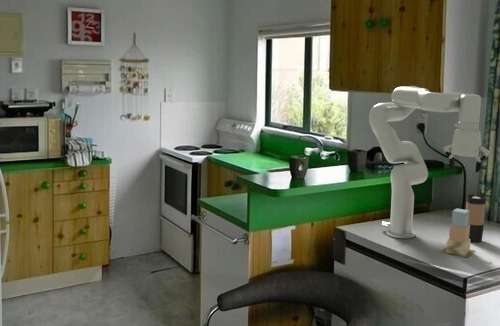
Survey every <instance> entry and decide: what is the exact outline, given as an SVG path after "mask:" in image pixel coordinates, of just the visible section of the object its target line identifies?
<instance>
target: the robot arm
mask: <svg viewBox="0 0 500 326" xmlns="http://www.w3.org/2000/svg"><path fill="white" fill-rule="evenodd" d="M481 103H482V97H481V95H479V94H474V93H463V92H457V91H455V92H433V91H432V92H431V91H430V90H429V89H428V88H424V87H419V86H416V85H409V86H408V85H407V86H398V87H396V88H395V89H393V91H392V93H391V102H379V103H377V104H375V105H373V107H371V109H370V111H369V114H368V121H369V122H368V123H369V127H370V129H371V130H372V132H373V134H374V135H375V137H376V139H377V141H378V144H379V146H380V149H381V151H382V153H383V155H384V157H385V160H386V161H387V162H388V163H389V164H397V165H396V166H394V167H393V168H392V169H391V172H390V183H391V202H390V204H391V205H390V219H389V222H386V221H381V227H382V228H386V231H385V234H386V235H387V236H389V237H392V238H396V239H413V238H414V237H415V236H416V232H415V231H414V230H413V219H414V205H415V201H414V200H415V194H414V190H413V188H412V186H413V185H419V184H423V183H425V181H427V179H428V176H429V171H428V168H427V165H426V163H425V160H424V158H423V156H422V154H421V152H420V149H419V148H418V147H417V145H416V144H415V143H414V142H413V141H411V140H410V141H409V140H402V141H401V140H400V138H399V136H398V134H397V131H396V130H395V129H394V128H393V127H392V125H390V124H389V122H400V121H403V120H405V119H406V118H407V117H408V116H409V115H410V114H412V113H413V112H414V111H415V110H416V109H419V110H423V111H428V112H433V113H434V112H435V113H455V112H456V113H457V112H458V121H457V122H454V125H453V126H455V127H456V128H457V129H455V130H454V132H453V133H454V134H453V138H452V143H451V144H447V145H446V146H443V150H444V152H445V155H446V156H447V158H448V159H449V164H448V165H449V169H450V170H453V169H455V167H456V166H455V164H456V163H455V162H456V158H455V157H456V156H460V157H468V158H475V159H476V162H475V173H479V172H480V171H481V170H482V162H483V161H485V160H486V159H487V158H488V157H489V155H490V153H491V150H489V149H487V148H485V147H484V146H482V136H481V135H482V134H481V130H479V128H480V127H479V126H480V115H481V108H482V107H481ZM449 149H450V150H451V152H450V150H449ZM481 152H483V153H484V154H483V156H481Z"/></svg>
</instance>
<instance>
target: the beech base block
mask: <svg viewBox="0 0 500 326" xmlns="http://www.w3.org/2000/svg"><path fill="white" fill-rule="evenodd" d="M446 247H447V250H446V252H448V253H453V254H458V255H462V256H465V255H466V254H467V253H468V252H469V251H470V250H471V249H470V248H471V242H470V239H469V240H467V241H466V242H465V243H461V242H456V241H451V240H449V238H448V239H447V240H446Z"/></svg>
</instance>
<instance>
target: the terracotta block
mask: <svg viewBox="0 0 500 326" xmlns="http://www.w3.org/2000/svg"><path fill="white" fill-rule="evenodd" d="M451 225H452V224H450V225H449V226H450V227H449V237H448V239H449V240H451V241H456V242H461V243H465V242H466V241H467V240H469V232H470V225H467V226H466V227H465V228H462V227H457V226H451Z"/></svg>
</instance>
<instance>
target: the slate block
mask: <svg viewBox="0 0 500 326" xmlns="http://www.w3.org/2000/svg"><path fill="white" fill-rule="evenodd" d="M468 221H469V210H466V209H463V208H454V209H453V210H452V213H451V224H450V225H451V226H457V227H462V228H465V227H466V226H467V225H468Z"/></svg>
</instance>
